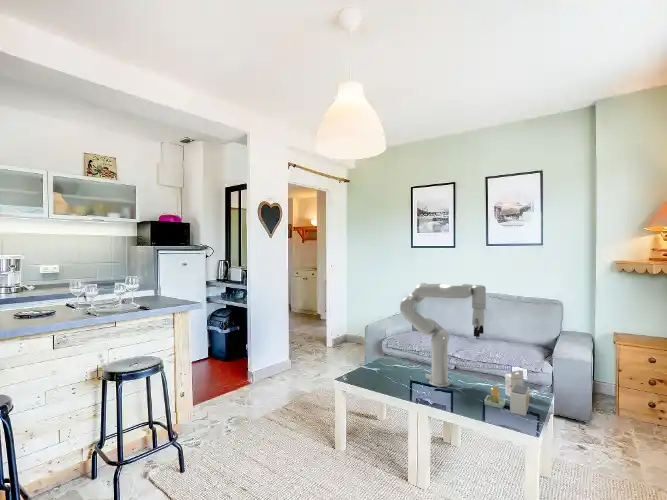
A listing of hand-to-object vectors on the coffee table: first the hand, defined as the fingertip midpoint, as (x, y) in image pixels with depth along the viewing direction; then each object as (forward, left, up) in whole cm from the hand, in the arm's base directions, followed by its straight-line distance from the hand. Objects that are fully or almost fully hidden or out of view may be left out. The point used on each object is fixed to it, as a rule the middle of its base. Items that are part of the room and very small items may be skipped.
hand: (478, 334), depth 216 cm
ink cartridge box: (+19, +2, -32) cm, 38 cm away
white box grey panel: (+24, -16, -32) cm, 43 cm away
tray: (+12, -16, -32) cm, 38 cm away
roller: (+12, -16, -32) cm, 38 cm away
